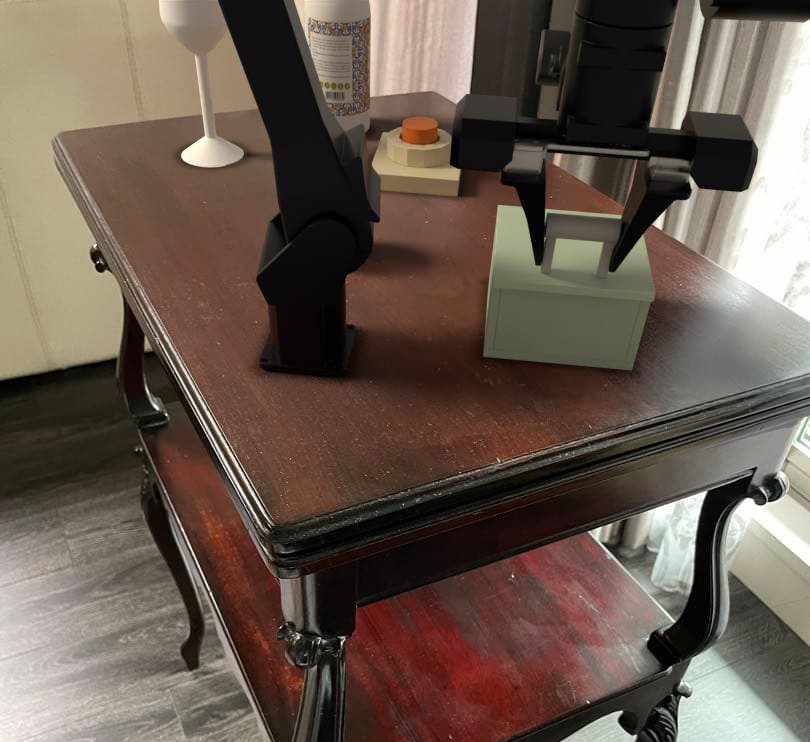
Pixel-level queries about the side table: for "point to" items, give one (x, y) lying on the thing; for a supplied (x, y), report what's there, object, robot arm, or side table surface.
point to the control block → (416, 165)
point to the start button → (419, 131)
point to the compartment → (562, 327)
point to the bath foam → (342, 56)
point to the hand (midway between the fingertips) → (574, 266)
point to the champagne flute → (201, 71)
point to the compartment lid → (569, 256)
